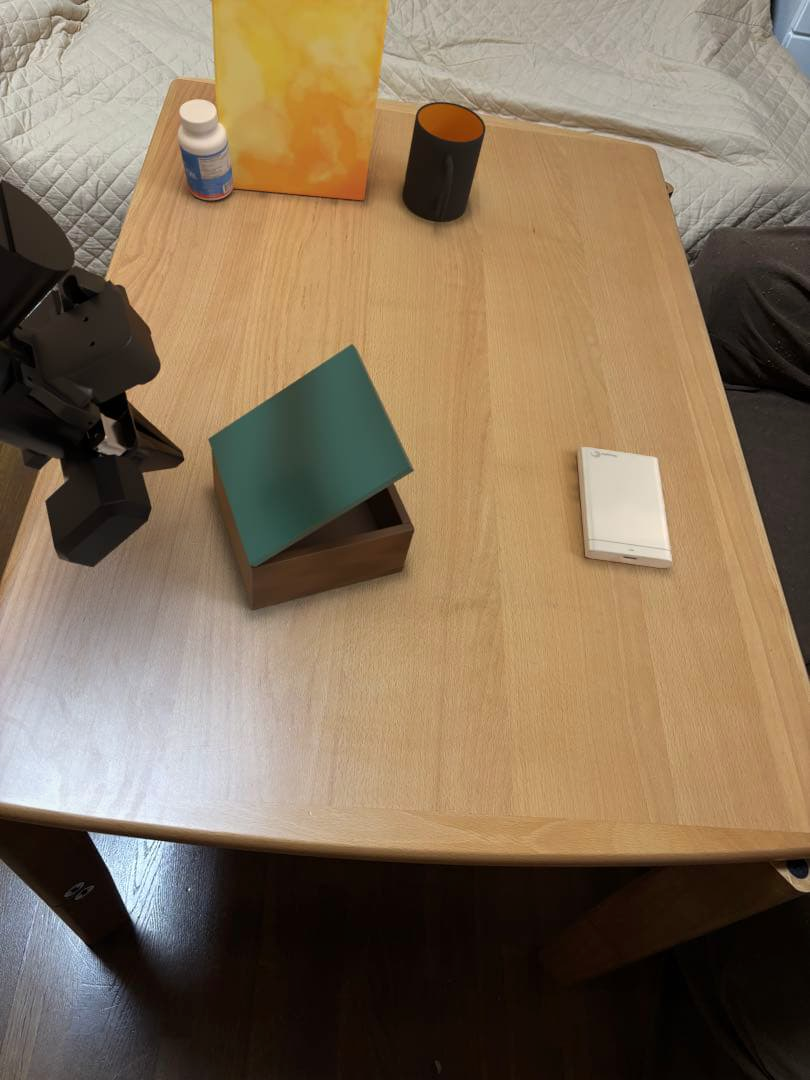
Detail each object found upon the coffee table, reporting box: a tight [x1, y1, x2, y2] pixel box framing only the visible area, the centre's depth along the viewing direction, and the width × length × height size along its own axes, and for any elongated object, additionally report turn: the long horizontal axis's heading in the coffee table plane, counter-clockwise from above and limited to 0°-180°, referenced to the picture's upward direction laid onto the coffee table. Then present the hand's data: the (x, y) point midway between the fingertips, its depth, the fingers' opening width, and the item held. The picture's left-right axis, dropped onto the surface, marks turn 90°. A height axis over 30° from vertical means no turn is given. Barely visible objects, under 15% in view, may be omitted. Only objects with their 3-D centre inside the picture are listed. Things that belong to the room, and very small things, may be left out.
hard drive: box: [576, 446, 673, 569], centre depth 78 cm, size 2×8×12 cm
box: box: [210, 448, 416, 611], centre depth 68 cm, size 14×13×7 cm
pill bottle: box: [177, 98, 234, 201], centre depth 91 cm, size 6×5×10 cm
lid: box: [207, 343, 415, 567], centre depth 62 cm, size 14×13×1 cm
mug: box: [401, 101, 486, 222], centre depth 96 cm, size 8×12×10 cm
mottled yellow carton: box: [211, 0, 390, 201], centre depth 90 cm, size 18×12×24 cm
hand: (179, 459), depth 57 cm, fingers closed
